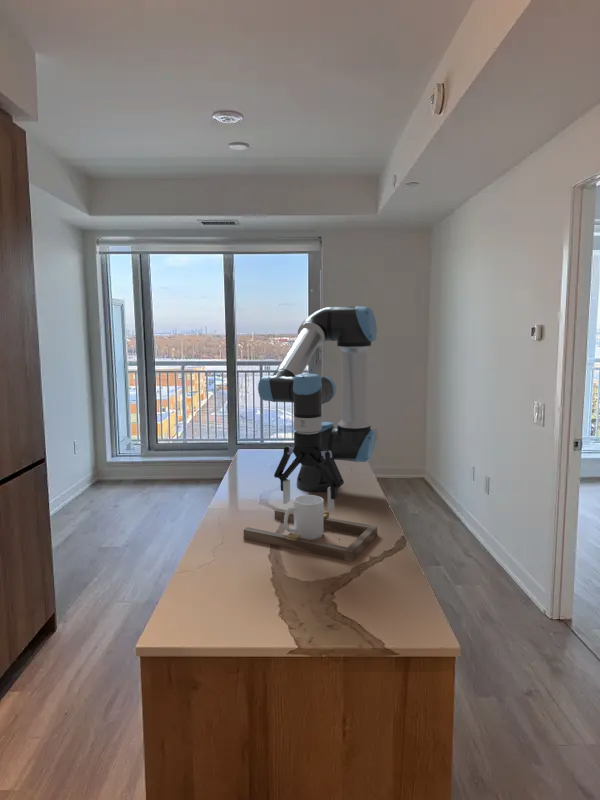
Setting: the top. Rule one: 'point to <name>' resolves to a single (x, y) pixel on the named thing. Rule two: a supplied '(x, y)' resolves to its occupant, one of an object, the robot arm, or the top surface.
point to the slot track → (316, 547)
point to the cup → (307, 516)
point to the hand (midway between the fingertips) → (308, 506)
